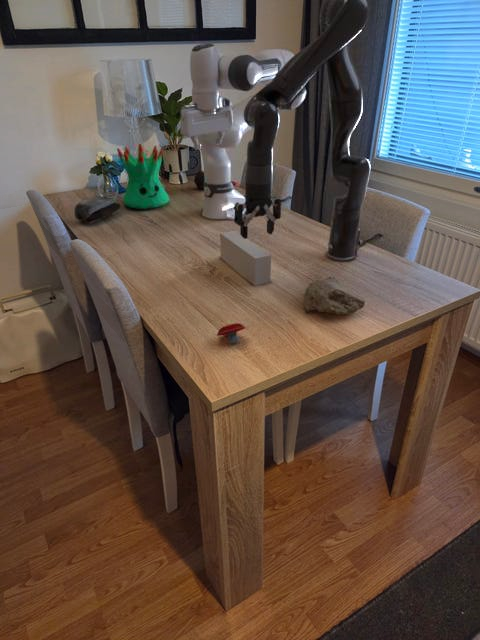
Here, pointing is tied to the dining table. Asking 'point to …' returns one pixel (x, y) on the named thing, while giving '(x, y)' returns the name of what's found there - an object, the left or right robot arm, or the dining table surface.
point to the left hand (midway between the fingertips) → (208, 147)
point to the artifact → (331, 297)
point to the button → (231, 331)
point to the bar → (245, 257)
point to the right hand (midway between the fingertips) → (257, 235)
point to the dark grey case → (95, 209)
